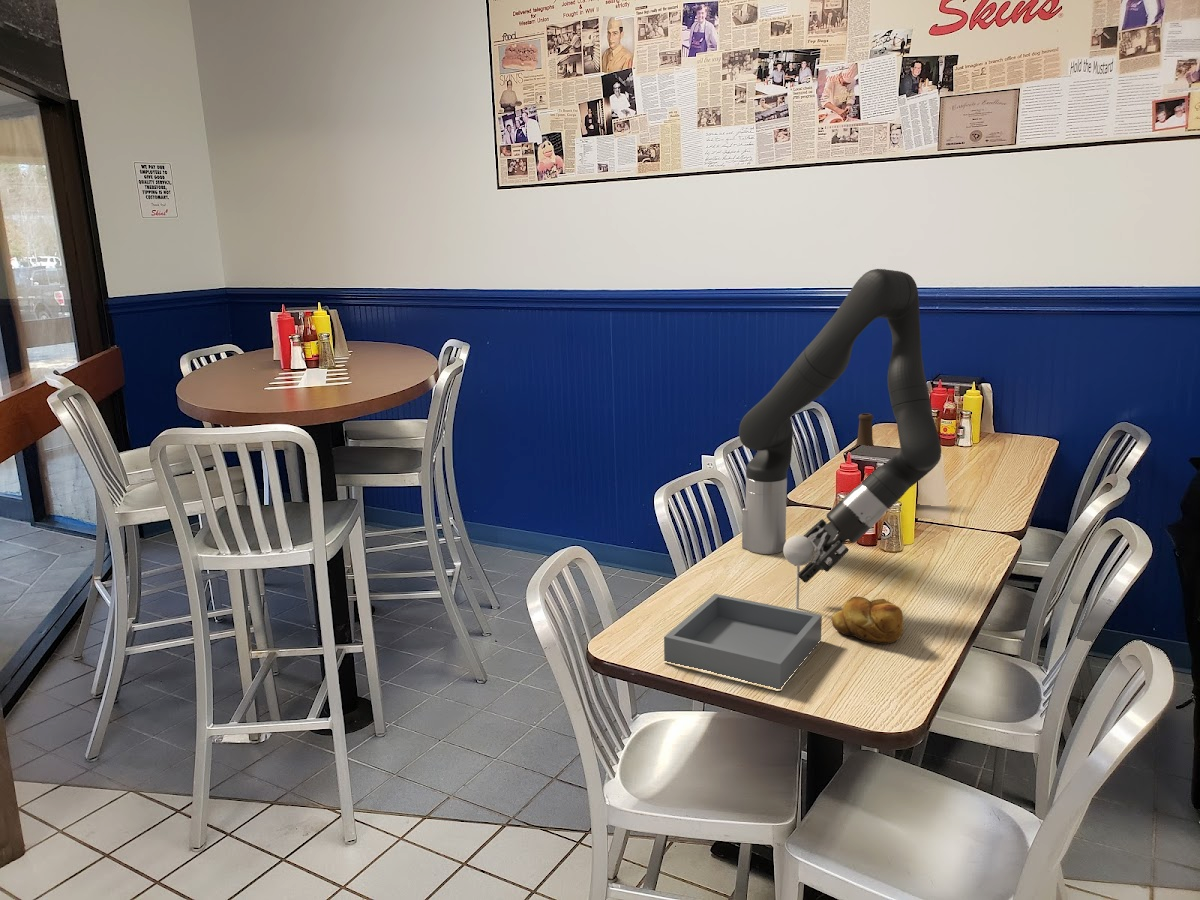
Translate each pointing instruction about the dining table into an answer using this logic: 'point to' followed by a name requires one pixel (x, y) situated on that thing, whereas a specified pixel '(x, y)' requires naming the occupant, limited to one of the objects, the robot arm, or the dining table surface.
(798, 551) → the lollipop
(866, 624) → the bread roll
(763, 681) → the tray
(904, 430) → the robot arm
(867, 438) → the beer bottle
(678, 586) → the dining table surface
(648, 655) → the dining table surface
